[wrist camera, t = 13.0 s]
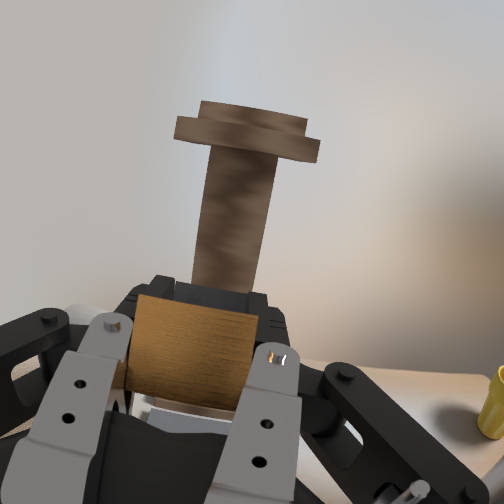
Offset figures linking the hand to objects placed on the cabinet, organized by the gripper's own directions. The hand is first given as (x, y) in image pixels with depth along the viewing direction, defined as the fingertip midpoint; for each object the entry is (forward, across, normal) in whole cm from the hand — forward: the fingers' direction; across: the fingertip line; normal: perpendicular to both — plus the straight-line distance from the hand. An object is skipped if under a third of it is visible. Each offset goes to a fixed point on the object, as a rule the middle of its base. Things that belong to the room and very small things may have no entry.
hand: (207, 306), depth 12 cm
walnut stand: (+20, 0, +23) cm, 31 cm away
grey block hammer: (+1, 0, +4) cm, 4 cm away
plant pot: (+11, -46, +24) cm, 53 cm away
